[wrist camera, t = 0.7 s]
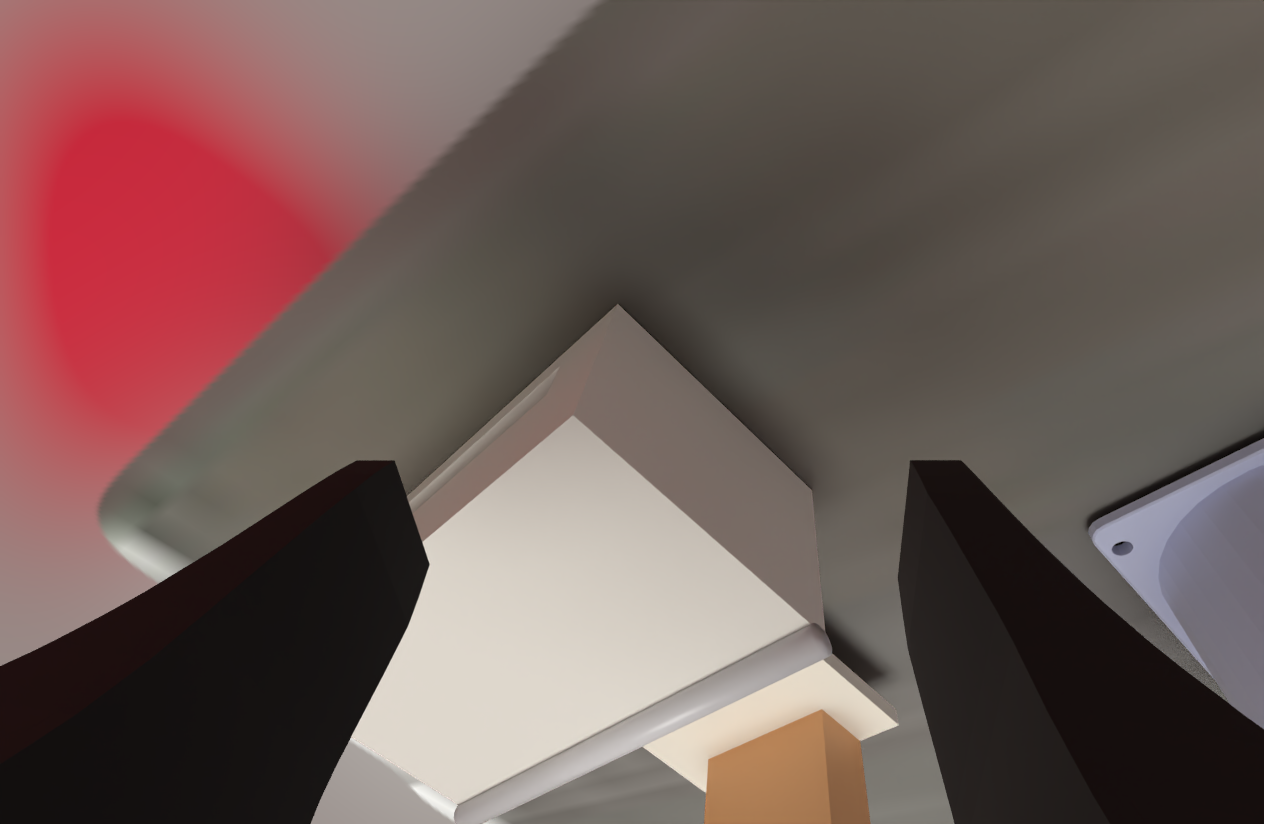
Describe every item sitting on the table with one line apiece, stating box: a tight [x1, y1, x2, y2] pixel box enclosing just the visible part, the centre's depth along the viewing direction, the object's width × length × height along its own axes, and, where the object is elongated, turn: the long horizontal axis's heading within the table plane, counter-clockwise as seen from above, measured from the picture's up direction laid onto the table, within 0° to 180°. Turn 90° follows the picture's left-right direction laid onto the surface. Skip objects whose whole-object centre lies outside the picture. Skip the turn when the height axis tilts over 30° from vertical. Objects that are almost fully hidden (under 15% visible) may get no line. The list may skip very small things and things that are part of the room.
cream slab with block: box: [642, 654, 899, 824], centre depth 22 cm, size 14×8×5 cm, turn 46°
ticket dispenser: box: [351, 304, 832, 824], centre depth 21 cm, size 8×14×6 cm, turn 136°
